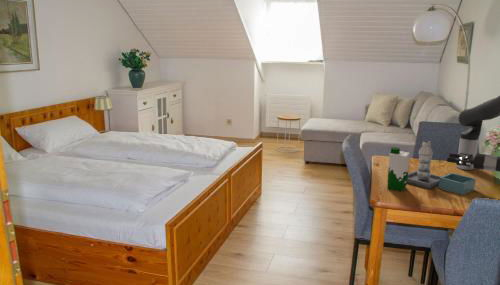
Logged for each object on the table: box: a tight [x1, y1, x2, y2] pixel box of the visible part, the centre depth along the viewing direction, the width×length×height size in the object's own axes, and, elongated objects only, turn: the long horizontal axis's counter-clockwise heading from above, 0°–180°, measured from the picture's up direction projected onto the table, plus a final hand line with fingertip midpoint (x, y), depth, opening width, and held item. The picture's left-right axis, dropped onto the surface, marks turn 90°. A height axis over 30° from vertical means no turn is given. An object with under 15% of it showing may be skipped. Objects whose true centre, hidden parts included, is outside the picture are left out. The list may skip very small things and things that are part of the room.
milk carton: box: [387, 146, 411, 192], centre depth 209 cm, size 9×9×20 cm
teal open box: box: [438, 172, 477, 196], centre depth 210 cm, size 12×12×6 cm
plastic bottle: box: [417, 140, 434, 180], centre depth 218 cm, size 6×7×20 cm
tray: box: [407, 169, 442, 190], centre depth 220 cm, size 16×16×2 cm
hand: (448, 157), depth 212 cm, fingers open, 8 cm apart
